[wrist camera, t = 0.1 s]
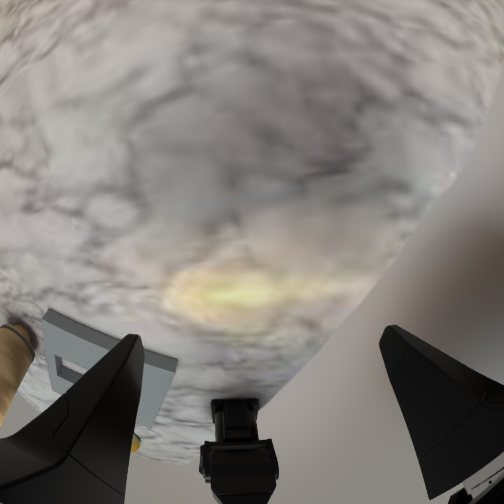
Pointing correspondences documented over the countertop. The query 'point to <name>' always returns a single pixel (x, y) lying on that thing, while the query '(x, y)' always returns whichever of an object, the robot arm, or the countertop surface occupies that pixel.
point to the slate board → (90, 352)
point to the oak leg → (13, 362)
